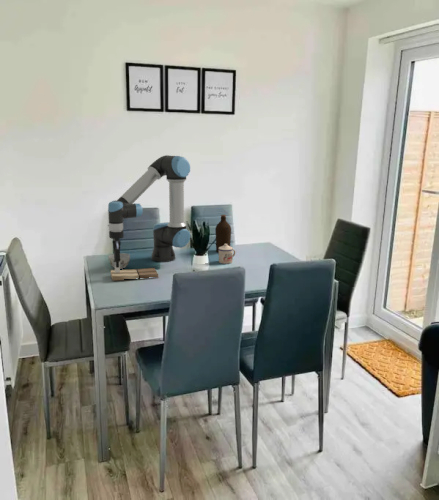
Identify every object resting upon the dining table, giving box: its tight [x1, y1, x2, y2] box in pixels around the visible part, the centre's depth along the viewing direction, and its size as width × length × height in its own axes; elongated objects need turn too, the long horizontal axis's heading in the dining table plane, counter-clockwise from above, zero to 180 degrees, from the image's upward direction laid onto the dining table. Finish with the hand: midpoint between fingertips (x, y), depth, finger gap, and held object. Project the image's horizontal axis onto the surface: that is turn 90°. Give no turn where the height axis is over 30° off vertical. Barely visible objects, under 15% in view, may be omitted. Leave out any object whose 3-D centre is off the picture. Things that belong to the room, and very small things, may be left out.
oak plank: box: [110, 268, 140, 281], centre depth 246 cm, size 12×14×2 cm
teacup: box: [107, 252, 131, 270], centre depth 262 cm, size 15×12×8 cm
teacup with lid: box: [218, 244, 236, 265], centre depth 275 cm, size 12×9×12 cm
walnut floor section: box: [136, 267, 159, 279], centre depth 249 cm, size 12×10×2 cm
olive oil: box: [214, 214, 232, 254], centre depth 297 cm, size 11×11×25 cm
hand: (117, 272), depth 244 cm, fingers closed
